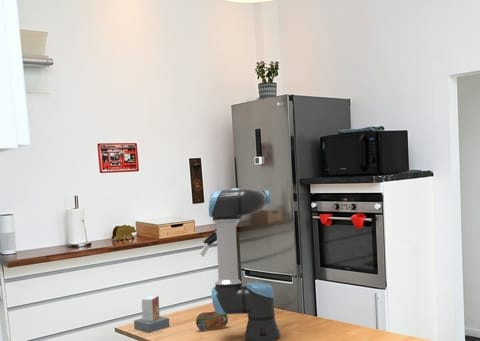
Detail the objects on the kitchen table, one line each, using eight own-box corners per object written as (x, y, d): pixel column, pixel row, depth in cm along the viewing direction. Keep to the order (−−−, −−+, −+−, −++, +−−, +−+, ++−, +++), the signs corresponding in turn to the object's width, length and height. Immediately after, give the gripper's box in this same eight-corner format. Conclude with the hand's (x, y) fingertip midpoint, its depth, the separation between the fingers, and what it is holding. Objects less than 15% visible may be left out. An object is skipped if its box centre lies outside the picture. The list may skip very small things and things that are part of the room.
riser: (169, 326, 233) (169, 318, 233) (148, 332, 224) (148, 324, 225) (154, 322, 241) (154, 314, 242) (134, 328, 233) (134, 320, 233)
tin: (197, 332, 221) (196, 314, 222) (195, 330, 224) (194, 312, 225) (228, 328, 225) (227, 310, 226) (227, 326, 228) (226, 308, 229)
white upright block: (153, 321, 229) (152, 299, 229) (142, 321, 230) (141, 299, 231) (159, 317, 237) (158, 295, 237) (149, 317, 238) (148, 295, 238)
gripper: (250, 228, 250) (231, 261, 239) (217, 227, 268) (198, 258, 256) (242, 219, 247) (223, 252, 235) (210, 219, 264) (190, 249, 253)
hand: (210, 255), depth 246 cm, fingers open, 13 cm apart
